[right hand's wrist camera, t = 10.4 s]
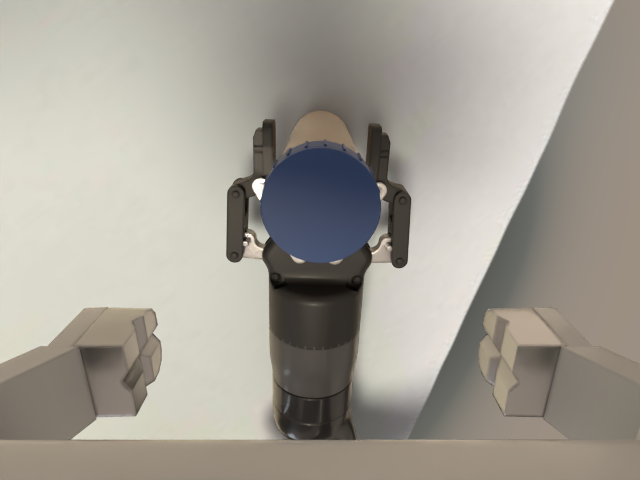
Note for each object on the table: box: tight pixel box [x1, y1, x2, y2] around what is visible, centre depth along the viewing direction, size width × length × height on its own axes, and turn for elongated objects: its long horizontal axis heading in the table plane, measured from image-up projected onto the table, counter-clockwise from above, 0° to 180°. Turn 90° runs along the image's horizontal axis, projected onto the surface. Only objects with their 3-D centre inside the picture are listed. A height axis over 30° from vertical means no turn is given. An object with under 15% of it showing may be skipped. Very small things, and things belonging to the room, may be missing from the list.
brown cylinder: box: [283, 111, 357, 155], centre depth 29 cm, size 5×5×18 cm
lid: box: [260, 139, 381, 263], centre depth 21 cm, size 6×6×2 cm
